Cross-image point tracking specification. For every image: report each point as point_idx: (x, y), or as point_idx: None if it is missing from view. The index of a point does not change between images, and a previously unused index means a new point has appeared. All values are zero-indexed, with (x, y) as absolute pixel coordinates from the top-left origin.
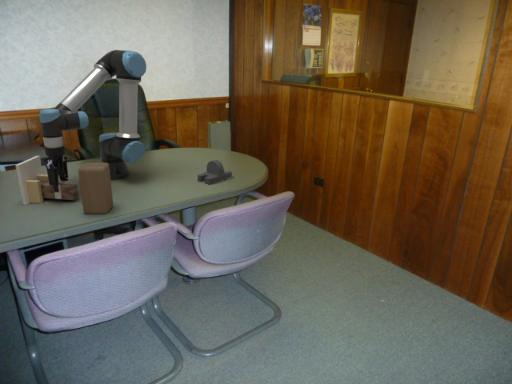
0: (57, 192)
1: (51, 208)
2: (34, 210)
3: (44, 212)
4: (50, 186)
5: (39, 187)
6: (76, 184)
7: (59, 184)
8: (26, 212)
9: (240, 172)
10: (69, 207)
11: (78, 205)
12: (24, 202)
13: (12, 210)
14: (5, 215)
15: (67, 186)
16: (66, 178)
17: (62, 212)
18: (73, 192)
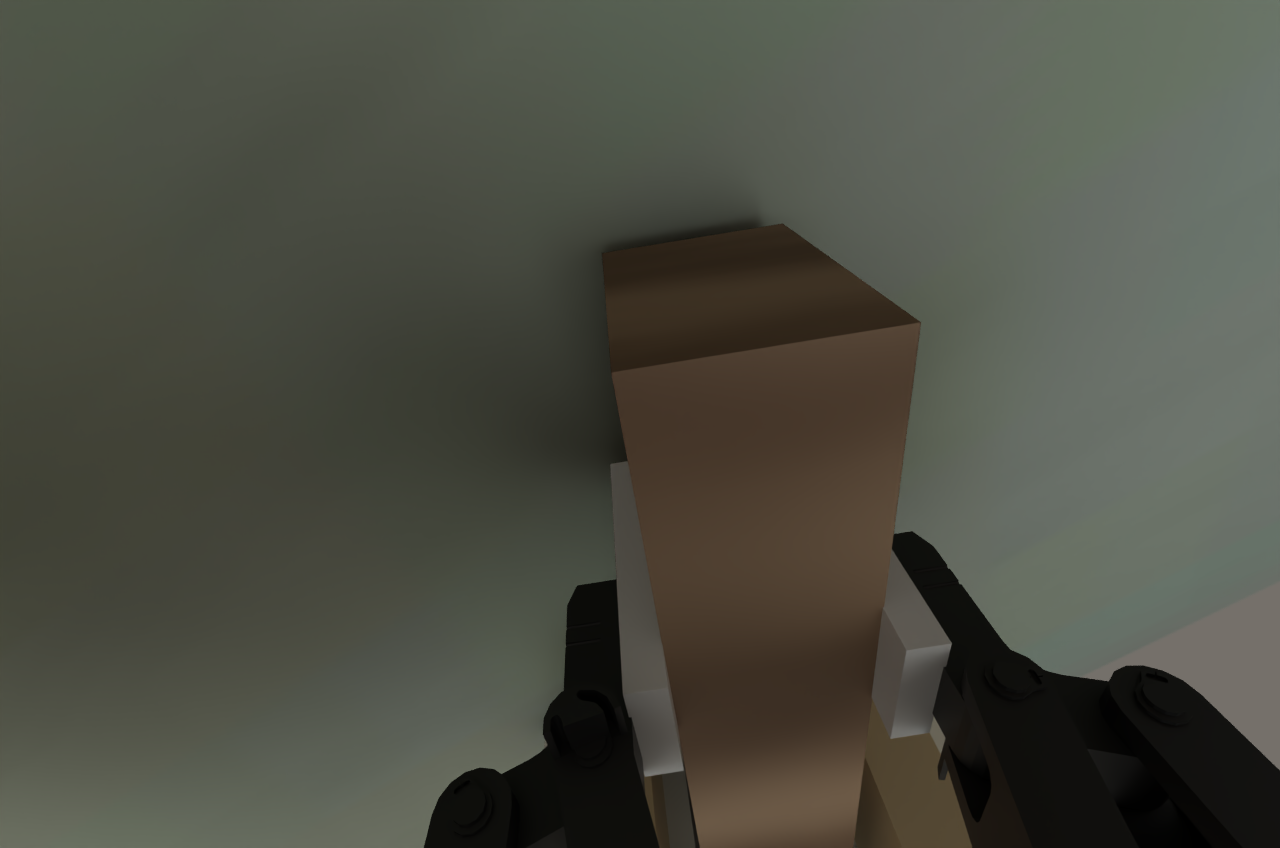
0: (911, 534)
1: (1019, 385)
2: (1068, 511)
3: (1159, 376)
4: (861, 731)
5: (925, 798)
6: (617, 381)
7: (752, 686)
8: (1118, 541)
9: None
10: (993, 145)
11: (891, 25)
12: None
13: (1044, 657)
14: (1164, 632)
15: (856, 488)
16: (508, 772)
17: (1223, 115)
18: (817, 272)
